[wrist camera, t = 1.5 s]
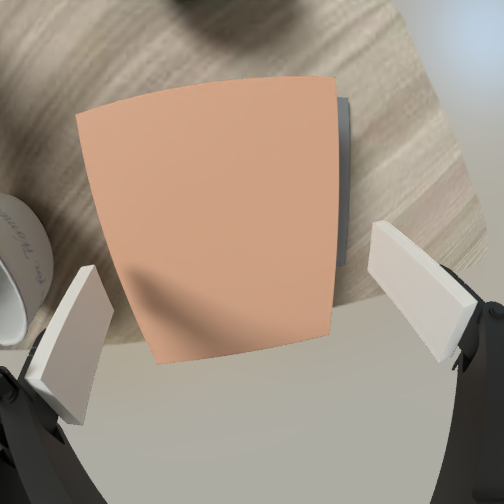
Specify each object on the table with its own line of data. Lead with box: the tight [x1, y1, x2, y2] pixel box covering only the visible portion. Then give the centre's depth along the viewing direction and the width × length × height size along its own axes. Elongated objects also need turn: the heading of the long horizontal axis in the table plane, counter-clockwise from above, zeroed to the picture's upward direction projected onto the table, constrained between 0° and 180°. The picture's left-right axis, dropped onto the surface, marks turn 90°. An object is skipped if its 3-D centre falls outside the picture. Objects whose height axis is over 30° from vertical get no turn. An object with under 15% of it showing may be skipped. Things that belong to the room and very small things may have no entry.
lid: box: [76, 76, 339, 364], centre depth 16 cm, size 12×16×2 cm
